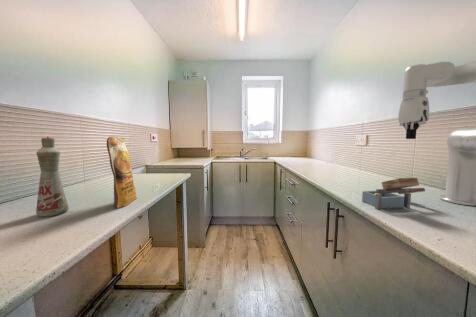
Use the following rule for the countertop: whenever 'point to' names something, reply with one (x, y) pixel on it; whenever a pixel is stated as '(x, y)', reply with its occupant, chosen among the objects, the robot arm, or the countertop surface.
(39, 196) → the bottle
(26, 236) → the countertop surface
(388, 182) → the lever
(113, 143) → the pancake mix bag
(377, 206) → the stand
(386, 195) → the blue-grey open box
